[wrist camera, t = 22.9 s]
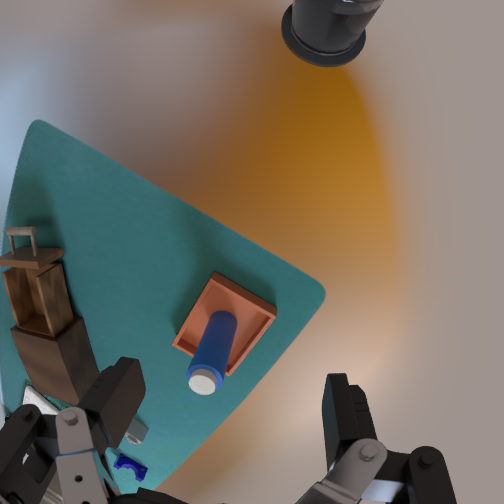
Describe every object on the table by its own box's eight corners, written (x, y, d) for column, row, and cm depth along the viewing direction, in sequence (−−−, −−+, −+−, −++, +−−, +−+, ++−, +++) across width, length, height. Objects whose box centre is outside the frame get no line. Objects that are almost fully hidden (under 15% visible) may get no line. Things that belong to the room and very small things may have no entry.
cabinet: (36, 308, 50) (9, 329, 41) (83, 317, 48) (56, 342, 40) (55, 368, 54) (35, 391, 46) (101, 380, 53) (82, 407, 45)
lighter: (149, 428, 56) (136, 455, 48) (145, 431, 56) (133, 457, 49) (121, 409, 55) (106, 435, 47) (118, 412, 56) (104, 437, 48)
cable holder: (116, 457, 62) (111, 467, 59) (120, 453, 61) (115, 464, 58) (142, 472, 63) (138, 482, 59) (147, 468, 62) (143, 480, 58)
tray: (214, 271, 43) (210, 278, 41) (277, 307, 44) (276, 316, 42) (176, 336, 47) (171, 345, 45) (232, 366, 48) (229, 376, 46)
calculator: (68, 416, 59) (65, 421, 58) (57, 440, 65) (54, 444, 63) (28, 383, 58) (24, 387, 56) (23, 412, 64) (20, 416, 62)
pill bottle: (208, 309, 45) (181, 369, 31) (237, 311, 44) (219, 373, 31) (210, 333, 46) (185, 396, 33) (237, 335, 46) (221, 400, 32)
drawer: (16, 221, 43) (-10, 231, 37) (59, 219, 42) (31, 230, 36) (36, 313, 49) (15, 330, 42) (78, 321, 48) (57, 341, 41)
